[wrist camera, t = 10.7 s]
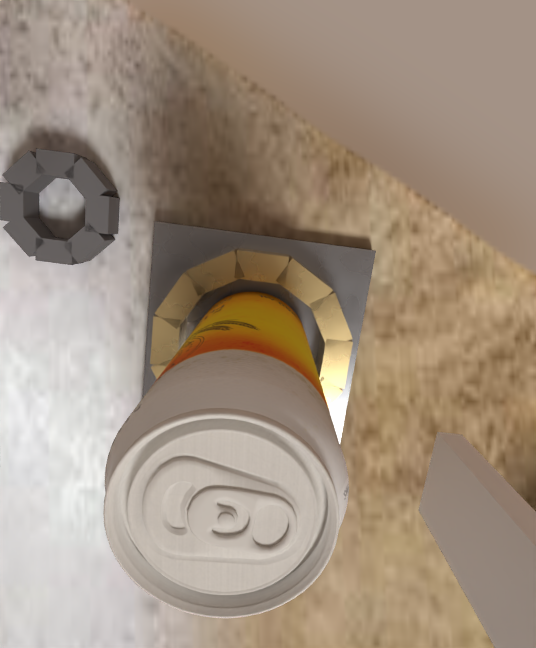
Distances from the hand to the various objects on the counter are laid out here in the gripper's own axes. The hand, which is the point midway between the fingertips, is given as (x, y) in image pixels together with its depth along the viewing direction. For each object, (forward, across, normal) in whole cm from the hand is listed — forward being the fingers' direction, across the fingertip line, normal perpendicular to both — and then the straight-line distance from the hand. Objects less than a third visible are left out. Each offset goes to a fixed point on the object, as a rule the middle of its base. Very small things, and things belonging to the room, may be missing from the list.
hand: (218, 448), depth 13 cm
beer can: (+12, +1, 0) cm, 12 cm away
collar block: (+12, +1, 0) cm, 13 cm away
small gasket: (+13, -10, +6) cm, 17 cm away
